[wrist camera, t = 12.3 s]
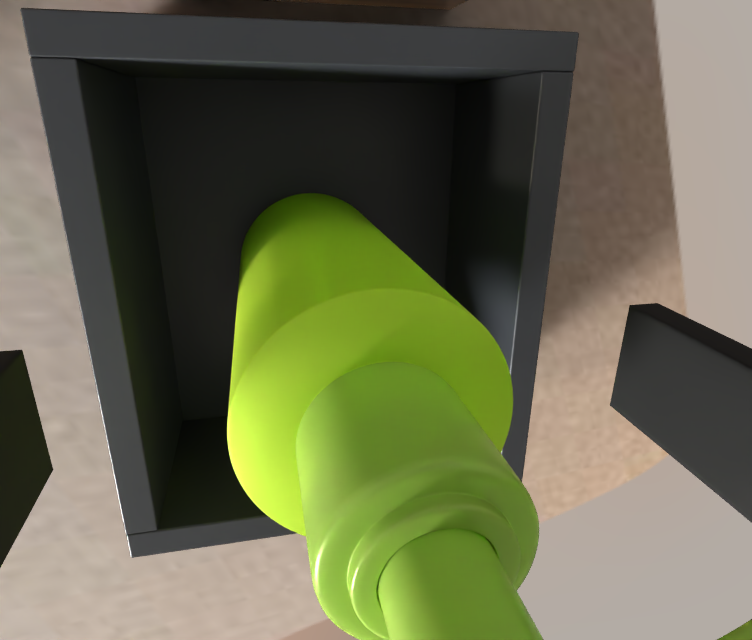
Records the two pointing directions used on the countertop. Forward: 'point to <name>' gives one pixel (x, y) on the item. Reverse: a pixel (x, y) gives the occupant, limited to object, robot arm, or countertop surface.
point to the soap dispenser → (379, 431)
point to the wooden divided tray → (392, 3)
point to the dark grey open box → (269, 185)
